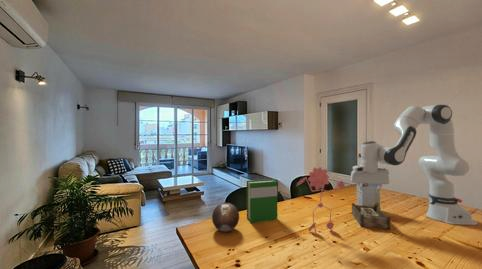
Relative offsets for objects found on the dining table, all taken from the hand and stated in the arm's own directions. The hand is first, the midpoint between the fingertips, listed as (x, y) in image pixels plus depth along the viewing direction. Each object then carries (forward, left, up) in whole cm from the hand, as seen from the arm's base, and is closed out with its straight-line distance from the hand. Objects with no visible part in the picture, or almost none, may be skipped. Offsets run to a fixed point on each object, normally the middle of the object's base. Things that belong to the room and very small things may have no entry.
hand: (369, 190), depth 127 cm
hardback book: (+64, +14, -19) cm, 68 cm away
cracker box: (-5, -19, -19) cm, 27 cm away
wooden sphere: (+81, +34, -19) cm, 90 cm away
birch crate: (0, 0, -18) cm, 18 cm away
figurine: (+31, +20, -19) cm, 42 cm away
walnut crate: (0, 0, -19) cm, 19 cm away
